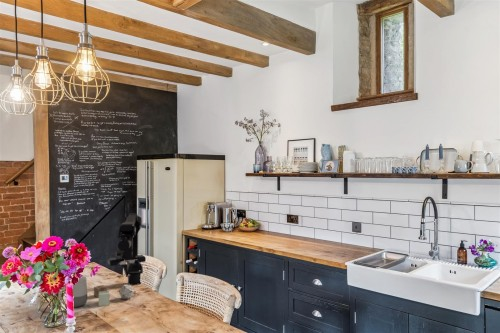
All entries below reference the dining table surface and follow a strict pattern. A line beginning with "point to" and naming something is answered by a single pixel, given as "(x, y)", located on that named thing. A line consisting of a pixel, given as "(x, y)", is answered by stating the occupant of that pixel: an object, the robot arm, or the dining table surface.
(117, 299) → the dining table surface
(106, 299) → the sage block
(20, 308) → the dining table surface
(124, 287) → the game die
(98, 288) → the walnut cube
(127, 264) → the robot arm
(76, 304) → the smart speaker
